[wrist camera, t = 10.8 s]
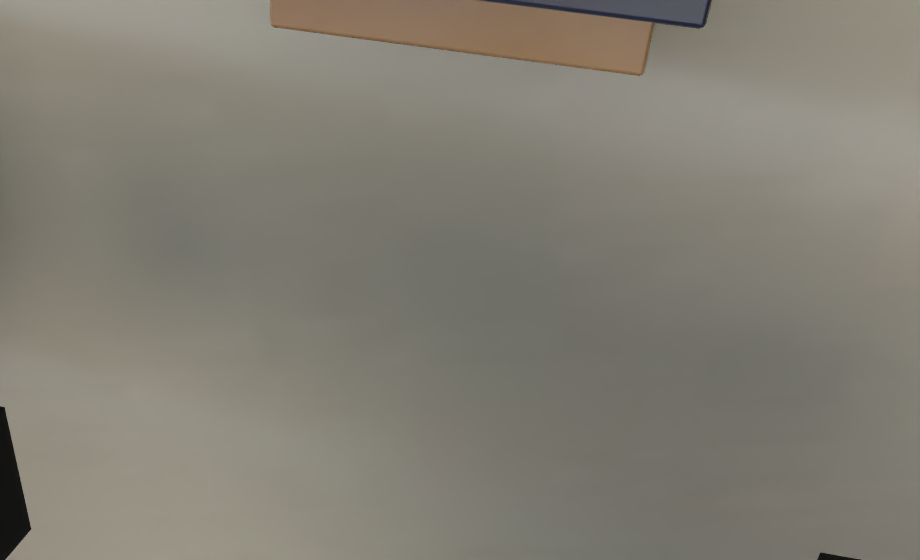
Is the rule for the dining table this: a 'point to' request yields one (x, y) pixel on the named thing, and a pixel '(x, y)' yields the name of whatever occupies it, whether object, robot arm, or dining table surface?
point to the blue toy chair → (503, 26)
